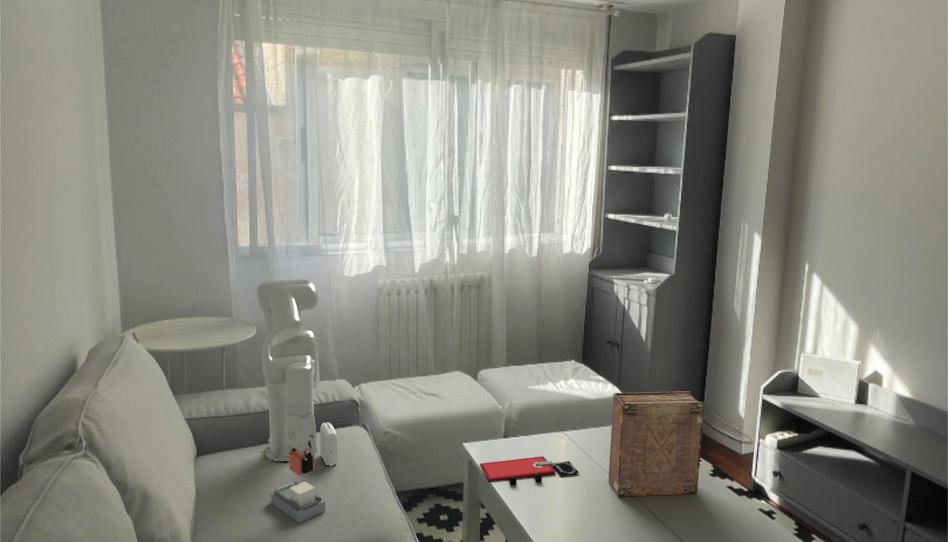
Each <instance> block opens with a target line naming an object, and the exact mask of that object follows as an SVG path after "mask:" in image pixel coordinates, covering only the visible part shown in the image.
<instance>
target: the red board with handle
mask: <svg viewBox="0 0 948 542" xmlns="http://www.w3.org/2000/svg"><path fill="white" fill-rule="evenodd" d="M479 466H480V468H481V470H482V472H483V474H484V475H485V478H486V479H487V480H488V482H490V483H491V482H498V481H507V480H508V481H509V485H510V486H517V480H518V479H525V478H527V479H528V478H534V482H535V483H536V484H537V483H542V481H543V476H549V475H550V476H552V475H556V472H557V473H558V474H559V476H563V475H570V474H579V473H580V472H579V470H577V468H576V467H575V466H574V465H573V464H572V462H570V460H568V461H561V462H553V461H552V460H547V459H546V458H545V457H544V456H543V455H542V456H534V457H527V458H525V457H524V458H517V459H510V460H509V459H508V460H500V461H491V462H482V463H479Z"/></svg>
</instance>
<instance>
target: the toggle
mask: <svg viewBox="0 0 948 542" xmlns="http://www.w3.org/2000/svg"><path fill="white" fill-rule="evenodd" d="M315 494H316V488H315V487H314V486H313V485H311V484H310V483H308V482H306V481H303V482H301V483H300V484H298V485H296V486H293V487H291V488H290V500H291V501H293V502H294V503H296V504H297V505H299V506H300V507H302V506H304V505H307V504H309V503H311V502H313V501H315Z"/></svg>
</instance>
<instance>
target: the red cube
mask: <svg viewBox="0 0 948 542" xmlns="http://www.w3.org/2000/svg"><path fill="white" fill-rule="evenodd" d="M307 453H309V450H307V451H306V455H307ZM302 460H303V455H302V452H300V451H298V450H295V451H293V452H290V453H289V461H288V463H289V464H288V469H289V471H291V472H293V473H294V474H296V475H298V476H301V475H304V474H303V473H302ZM315 468H316V467H315V457H314V458H313V470H312V471H314V470H315Z"/></svg>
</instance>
